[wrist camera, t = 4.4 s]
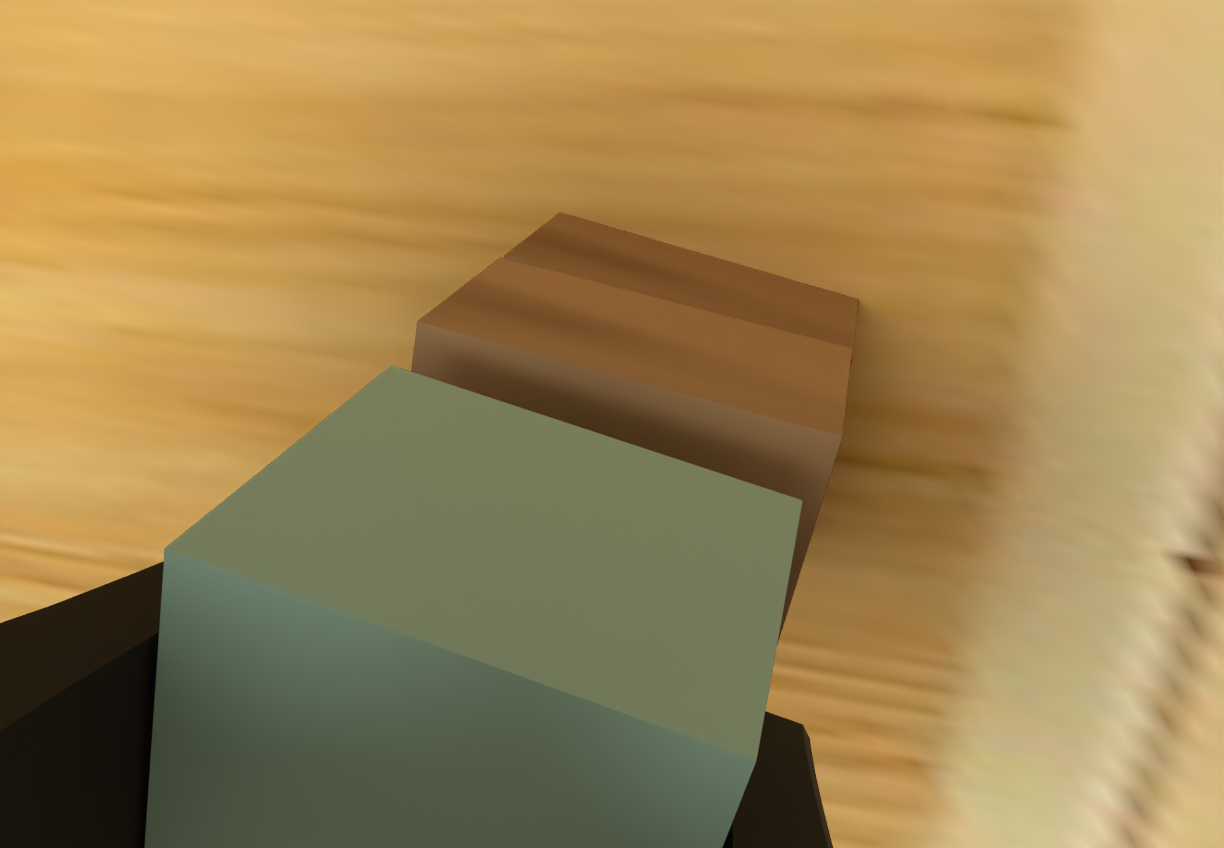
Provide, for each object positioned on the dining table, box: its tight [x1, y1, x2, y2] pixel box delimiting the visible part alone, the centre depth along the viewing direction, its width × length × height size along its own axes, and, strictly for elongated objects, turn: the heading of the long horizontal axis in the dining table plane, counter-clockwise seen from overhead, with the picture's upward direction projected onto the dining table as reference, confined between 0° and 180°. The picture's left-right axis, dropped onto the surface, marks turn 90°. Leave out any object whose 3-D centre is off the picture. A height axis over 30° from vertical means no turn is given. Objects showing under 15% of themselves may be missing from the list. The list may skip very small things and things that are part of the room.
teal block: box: [144, 366, 803, 848], centre depth 11 cm, size 4×4×4 cm
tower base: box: [504, 213, 859, 365], centre depth 17 cm, size 5×5×3 cm
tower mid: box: [411, 257, 852, 644], centre depth 15 cm, size 5×5×3 cm
